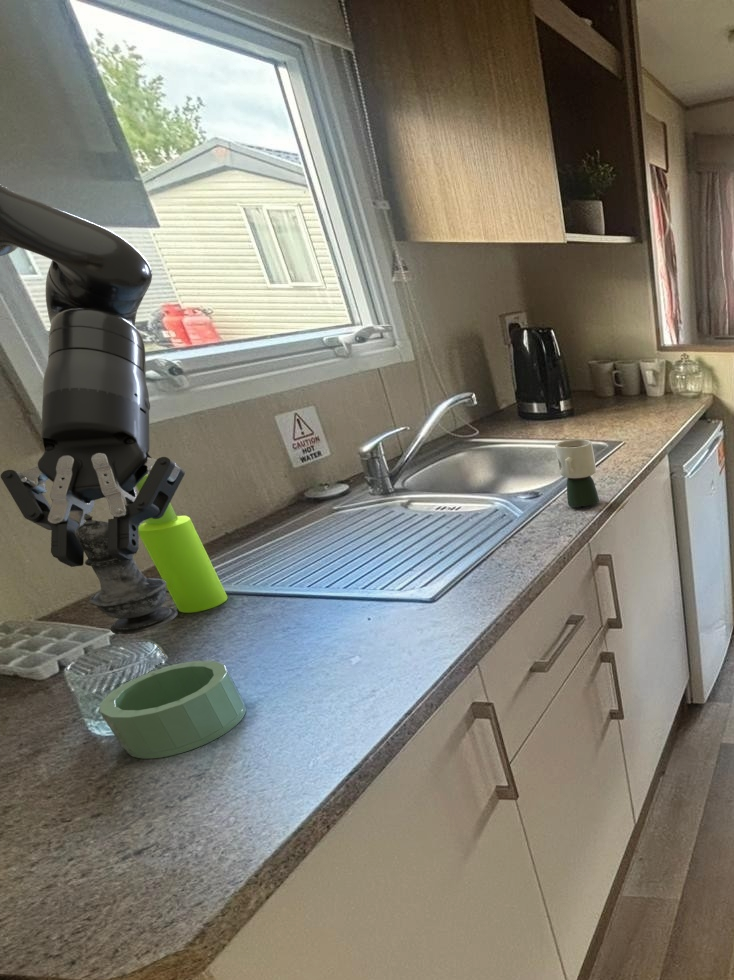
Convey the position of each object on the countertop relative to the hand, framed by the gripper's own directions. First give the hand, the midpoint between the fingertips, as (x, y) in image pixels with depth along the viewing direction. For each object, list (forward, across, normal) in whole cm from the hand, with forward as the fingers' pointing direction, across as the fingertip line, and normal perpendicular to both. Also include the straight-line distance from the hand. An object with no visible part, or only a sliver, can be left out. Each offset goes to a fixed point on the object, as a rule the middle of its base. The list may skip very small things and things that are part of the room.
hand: (96, 559), depth 63 cm
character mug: (-27, +47, +57) cm, 79 cm away
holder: (+14, 0, +15) cm, 21 cm away
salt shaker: (+4, 0, +7) cm, 8 cm away
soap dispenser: (-11, -10, +40) cm, 43 cm away
